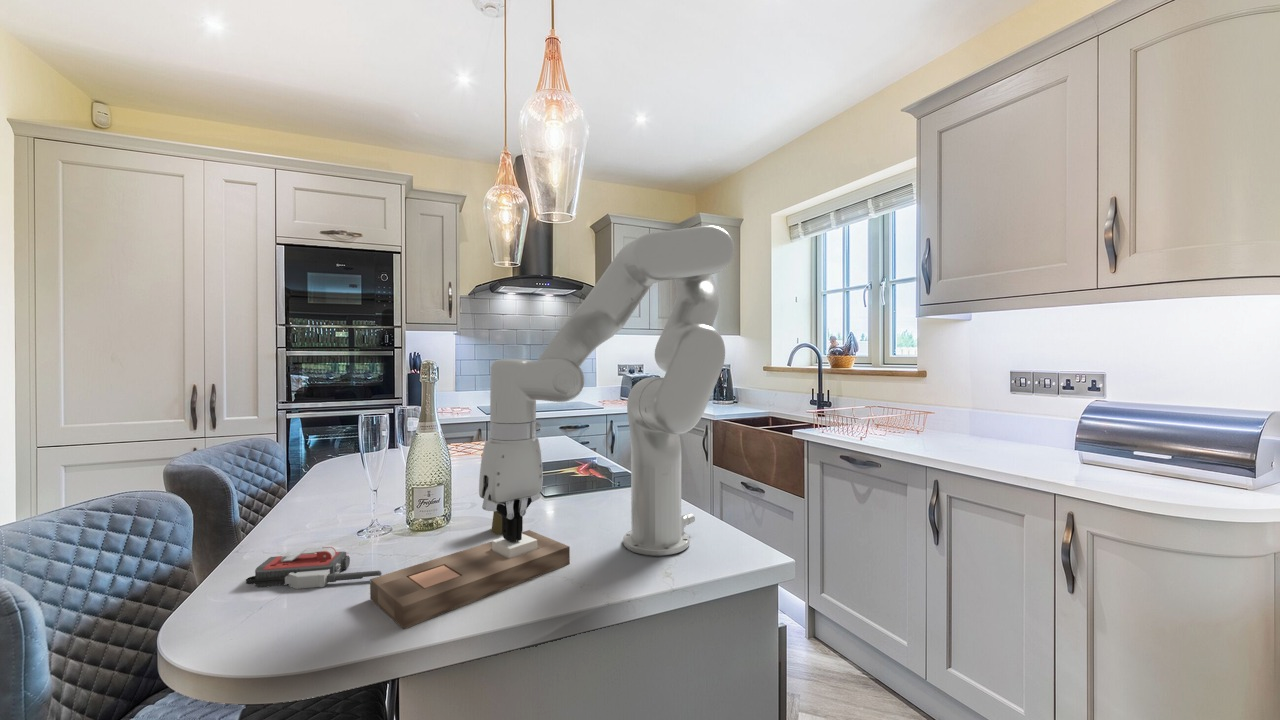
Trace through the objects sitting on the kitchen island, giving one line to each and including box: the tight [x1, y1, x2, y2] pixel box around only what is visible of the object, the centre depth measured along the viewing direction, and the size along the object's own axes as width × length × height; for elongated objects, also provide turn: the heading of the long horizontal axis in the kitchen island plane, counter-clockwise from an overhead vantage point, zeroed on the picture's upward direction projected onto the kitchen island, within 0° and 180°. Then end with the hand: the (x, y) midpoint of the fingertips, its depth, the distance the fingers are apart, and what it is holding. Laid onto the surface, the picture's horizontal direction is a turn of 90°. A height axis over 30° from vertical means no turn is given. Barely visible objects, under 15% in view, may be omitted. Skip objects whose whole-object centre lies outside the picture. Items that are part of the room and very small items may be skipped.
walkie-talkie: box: [245, 546, 383, 590], centre depth 83 cm, size 9×4×20 cm
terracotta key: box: [409, 565, 460, 589], centre depth 76 cm, size 5×5×2 cm
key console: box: [369, 529, 571, 630], centre depth 81 cm, size 28×12×3 cm, turn 137°
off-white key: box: [491, 534, 537, 559], centre depth 86 cm, size 5×5×2 cm
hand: (512, 539), depth 86 cm, fingers closed
